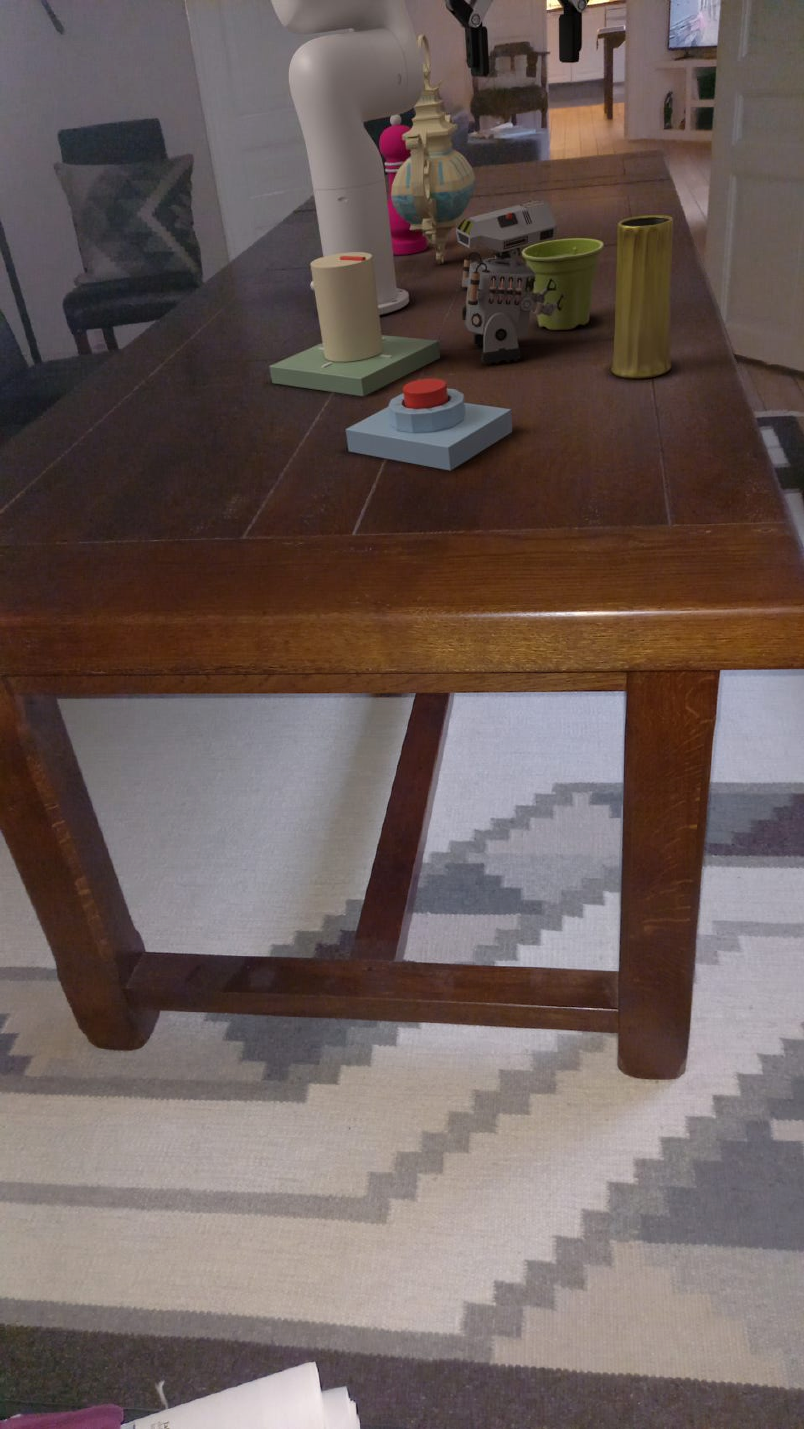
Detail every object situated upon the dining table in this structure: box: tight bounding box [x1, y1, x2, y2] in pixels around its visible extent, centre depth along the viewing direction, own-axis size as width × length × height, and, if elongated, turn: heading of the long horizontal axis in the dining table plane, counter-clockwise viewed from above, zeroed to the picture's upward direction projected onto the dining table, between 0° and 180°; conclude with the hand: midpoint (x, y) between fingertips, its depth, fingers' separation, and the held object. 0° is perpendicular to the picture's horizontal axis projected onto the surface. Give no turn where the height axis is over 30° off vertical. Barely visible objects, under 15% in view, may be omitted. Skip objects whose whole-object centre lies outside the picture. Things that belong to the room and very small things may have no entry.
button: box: [402, 378, 448, 409], centre depth 90 cm, size 4×4×2 cm
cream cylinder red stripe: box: [310, 252, 383, 362], centre depth 110 cm, size 7×7×10 cm
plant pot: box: [521, 237, 604, 331], centre depth 117 cm, size 9×9×9 cm
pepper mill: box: [378, 114, 428, 256], centre depth 160 cm, size 7×7×20 cm
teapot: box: [391, 34, 476, 264], centre depth 147 cm, size 24×12×30 cm, turn 166°
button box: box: [345, 387, 513, 471], centre depth 92 cm, size 12×10×4 cm
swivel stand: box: [269, 334, 441, 397], centre depth 113 cm, size 14×14×2 cm
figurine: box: [455, 199, 564, 366], centre depth 109 cm, size 9×12×15 cm
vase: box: [610, 214, 674, 380], centre depth 99 cm, size 6×6×14 cm
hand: (525, 69), depth 97 cm, fingers open, 9 cm apart
